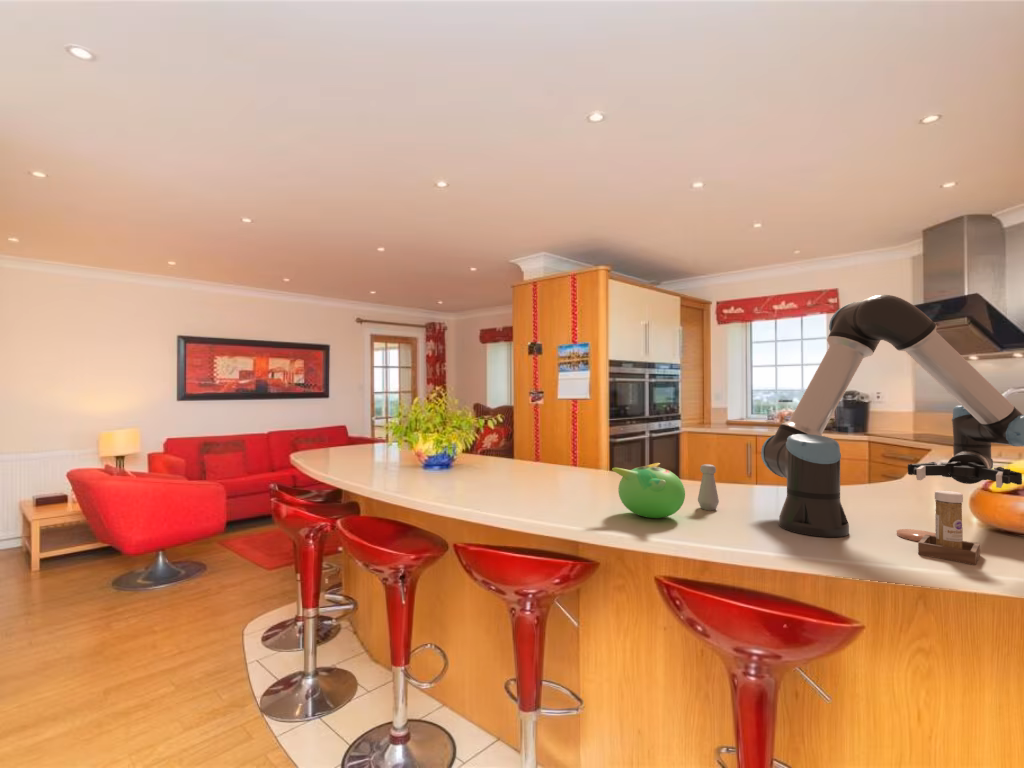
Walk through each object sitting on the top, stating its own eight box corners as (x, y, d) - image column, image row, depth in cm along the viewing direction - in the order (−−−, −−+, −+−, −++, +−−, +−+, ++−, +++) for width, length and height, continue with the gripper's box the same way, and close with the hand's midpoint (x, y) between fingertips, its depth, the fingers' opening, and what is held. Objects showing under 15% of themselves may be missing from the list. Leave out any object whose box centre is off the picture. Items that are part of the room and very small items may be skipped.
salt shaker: (720, 511, 145) (720, 466, 145) (699, 510, 146) (699, 465, 146) (716, 506, 151) (716, 463, 151) (696, 506, 152) (696, 463, 152)
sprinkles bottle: (956, 559, 104) (955, 494, 104) (930, 553, 108) (929, 490, 108) (968, 556, 106) (967, 492, 106) (942, 550, 110) (941, 489, 110)
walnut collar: (975, 565, 101) (975, 552, 101) (918, 554, 107) (918, 542, 107) (979, 555, 107) (979, 543, 107) (925, 545, 113) (925, 534, 113)
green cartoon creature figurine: (694, 517, 139) (694, 463, 139) (667, 529, 126) (667, 470, 126) (635, 506, 151) (635, 457, 151) (605, 517, 138) (605, 463, 138)
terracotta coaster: (913, 542, 116) (913, 539, 116) (888, 531, 125) (888, 528, 125) (955, 543, 115) (955, 540, 115) (926, 532, 124) (926, 529, 124)
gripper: (1039, 488, 119) (1036, 502, 105) (907, 476, 137) (889, 487, 123) (1038, 456, 119) (1035, 466, 105) (906, 449, 137) (888, 456, 123)
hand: (956, 477), depth 114 cm, fingers open, 13 cm apart
